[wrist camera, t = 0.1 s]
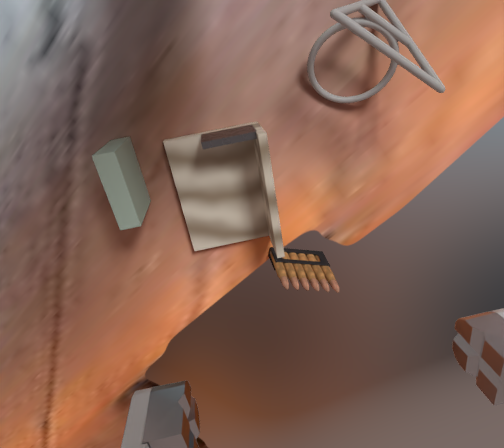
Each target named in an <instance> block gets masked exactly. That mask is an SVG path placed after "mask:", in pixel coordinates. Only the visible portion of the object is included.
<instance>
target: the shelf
mask: <svg viewBox="0 0 504 448" xmlns="http://www.w3.org/2000/svg"><path fill="white" fill-rule="evenodd" d="M163 143H164V147H165V150H166V154H167V157H168V161H169V164H170V168H171V171H172V175H173V178H174V182H175V185H176V189H177V192H178V195H179V199H180V202H181V206H182V209H183V213H184V216H185V220H186V223H187V227H188V230H189V234H190V237H191V241H192V244H193V248H194V251H198V250H203V249H208V248H213V247H217V246H222V245H227V244H231V243H236V242H241V241H246V240H250V239H255V238H260V237H265V236H269V237H270V239H271V242H272V245H273V247H274V250H275V253H276V255H277V258H281V257H285V254H284V248H283V241H282V234H281V227H280V221H279V214H278V207H277V200H276V194H275V187H274V180H273V173H272V166H271V160H270V153H269V146H268V139H267V133H266V131H265V130H264V129H263V128H262V127H261V126H260V125H259V123H258V122H252V123H247V124H242V125H237V126H232V127H227V128H222V129H216V130H211V131H206V132H201V133H196V134H191V135H186V136H181V137H176V138H171V139H166V140H164V141H163Z"/></svg>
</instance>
